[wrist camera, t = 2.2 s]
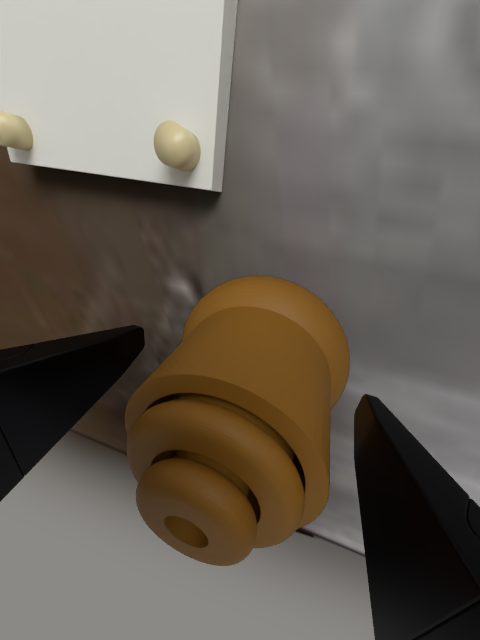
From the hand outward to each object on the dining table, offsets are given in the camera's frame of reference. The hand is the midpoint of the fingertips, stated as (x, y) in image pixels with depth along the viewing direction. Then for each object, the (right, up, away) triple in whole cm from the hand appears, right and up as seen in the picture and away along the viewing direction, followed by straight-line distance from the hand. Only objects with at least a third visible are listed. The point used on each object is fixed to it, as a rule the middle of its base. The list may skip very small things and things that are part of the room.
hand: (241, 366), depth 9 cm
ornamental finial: (+1, +1, +3) cm, 3 cm away
